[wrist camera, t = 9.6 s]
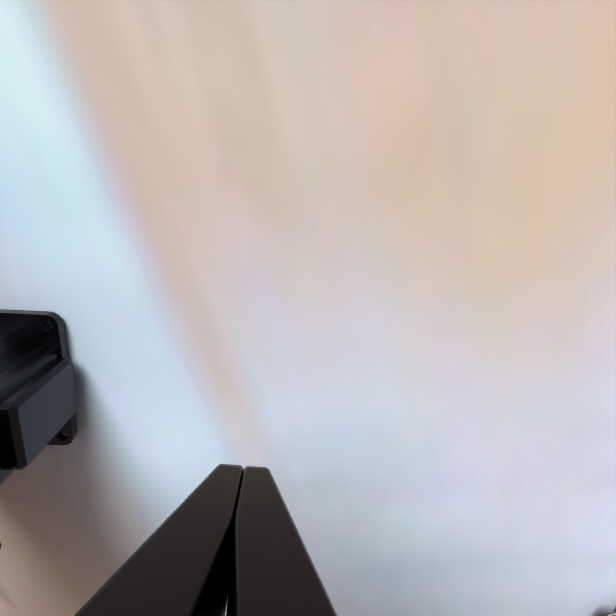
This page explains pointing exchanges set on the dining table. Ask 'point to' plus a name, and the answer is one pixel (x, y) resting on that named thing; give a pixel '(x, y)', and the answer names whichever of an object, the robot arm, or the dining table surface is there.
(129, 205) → the dining table surface
